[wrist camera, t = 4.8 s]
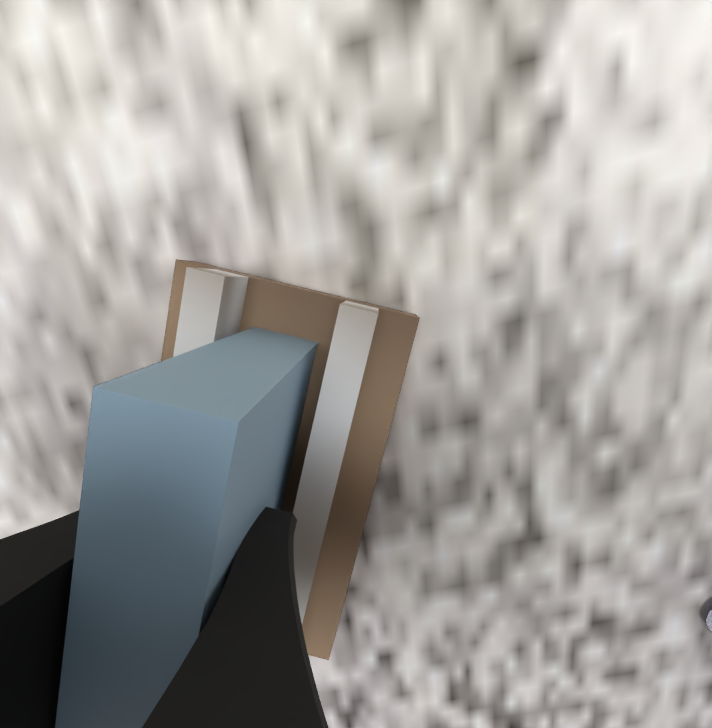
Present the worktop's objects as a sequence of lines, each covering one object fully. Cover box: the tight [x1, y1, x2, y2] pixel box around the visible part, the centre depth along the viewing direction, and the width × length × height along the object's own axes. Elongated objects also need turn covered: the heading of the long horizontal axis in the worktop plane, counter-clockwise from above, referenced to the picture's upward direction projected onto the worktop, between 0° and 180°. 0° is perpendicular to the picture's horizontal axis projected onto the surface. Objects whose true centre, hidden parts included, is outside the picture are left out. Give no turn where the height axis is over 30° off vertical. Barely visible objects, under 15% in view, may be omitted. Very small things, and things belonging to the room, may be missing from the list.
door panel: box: [55, 327, 318, 728], centre depth 8 cm, size 8×2×6 cm, turn 167°
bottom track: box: [161, 260, 419, 660], centre depth 11 cm, size 10×6×3 cm, turn 167°
